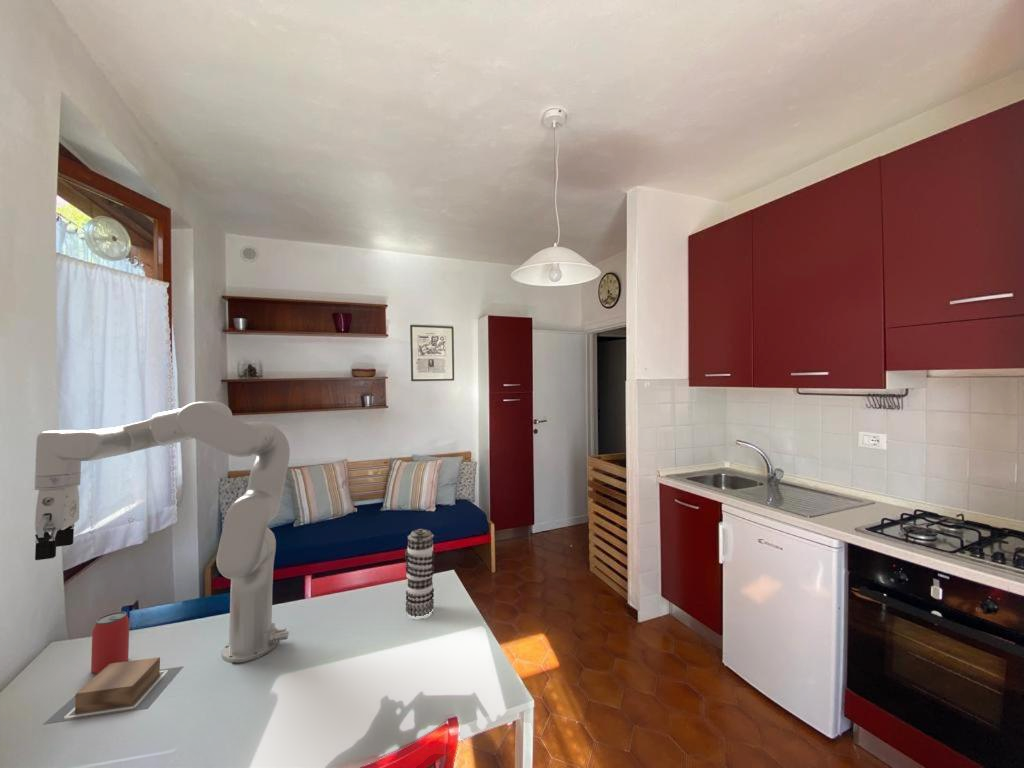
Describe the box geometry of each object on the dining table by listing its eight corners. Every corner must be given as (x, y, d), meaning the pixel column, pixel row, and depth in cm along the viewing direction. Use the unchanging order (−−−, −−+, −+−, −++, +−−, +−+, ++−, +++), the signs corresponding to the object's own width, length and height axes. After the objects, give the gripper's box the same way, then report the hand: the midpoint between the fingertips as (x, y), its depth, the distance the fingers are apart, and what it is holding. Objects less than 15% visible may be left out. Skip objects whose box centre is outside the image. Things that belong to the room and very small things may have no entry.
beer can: (104, 677, 97) (106, 625, 98) (83, 673, 99) (85, 622, 99) (135, 659, 104) (136, 611, 104) (114, 656, 105) (116, 609, 106)
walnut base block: (159, 674, 98) (160, 657, 98) (131, 704, 88) (132, 685, 88) (109, 681, 96) (109, 663, 96) (74, 713, 86) (75, 693, 86)
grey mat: (183, 668, 101) (183, 666, 101) (147, 710, 87) (147, 708, 87) (94, 679, 96) (94, 677, 97) (42, 726, 83) (42, 723, 83)
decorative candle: (406, 606, 131) (407, 527, 132) (435, 604, 132) (436, 526, 133) (402, 621, 122) (403, 536, 123) (433, 619, 123) (434, 535, 124)
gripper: (64, 486, 94) (61, 561, 94) (92, 473, 109) (90, 538, 109) (16, 489, 91) (12, 567, 90) (52, 476, 106) (49, 543, 105)
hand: (55, 551), depth 99 cm, fingers open, 9 cm apart
